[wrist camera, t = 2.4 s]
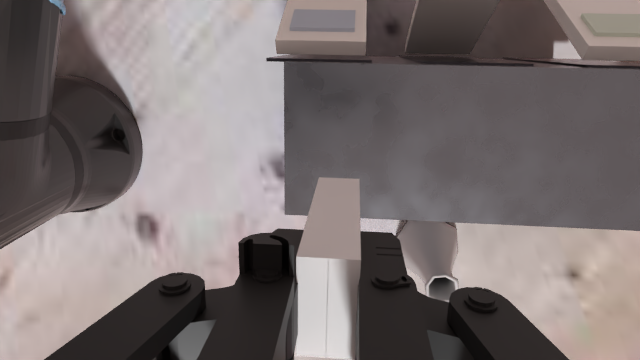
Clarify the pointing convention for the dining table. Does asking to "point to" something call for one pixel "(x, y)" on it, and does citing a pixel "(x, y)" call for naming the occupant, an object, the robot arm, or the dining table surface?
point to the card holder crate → (467, 138)
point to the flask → (431, 255)
